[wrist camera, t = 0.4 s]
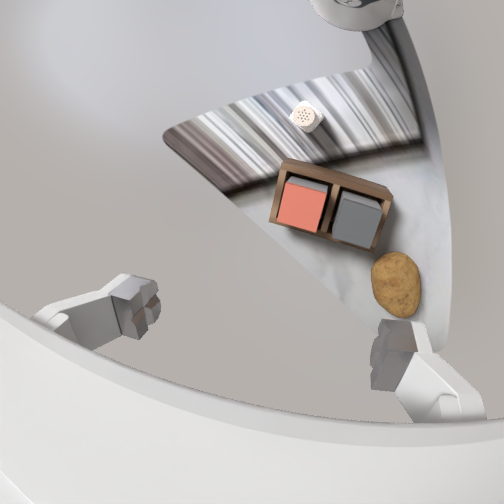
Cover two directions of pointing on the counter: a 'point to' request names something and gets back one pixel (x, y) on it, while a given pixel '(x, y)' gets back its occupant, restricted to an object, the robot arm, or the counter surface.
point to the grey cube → (356, 219)
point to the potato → (396, 284)
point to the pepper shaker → (306, 116)
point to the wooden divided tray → (330, 196)
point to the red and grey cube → (302, 203)
